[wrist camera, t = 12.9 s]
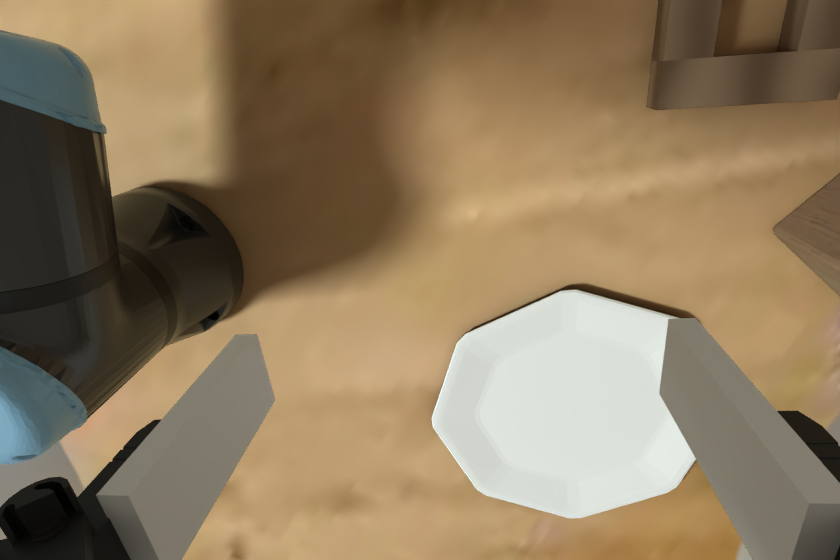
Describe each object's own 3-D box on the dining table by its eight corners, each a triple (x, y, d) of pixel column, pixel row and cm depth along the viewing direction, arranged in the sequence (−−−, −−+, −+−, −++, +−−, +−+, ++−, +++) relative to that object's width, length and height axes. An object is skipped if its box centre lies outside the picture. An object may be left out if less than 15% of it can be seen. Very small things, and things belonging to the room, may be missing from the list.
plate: (392, 359, 50) (390, 368, 49) (652, 242, 42) (658, 248, 41) (510, 528, 59) (511, 539, 57) (747, 457, 50) (754, 468, 49)
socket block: (646, 107, 37) (657, 109, 35) (668, -80, 33) (682, -90, 30) (814, 97, 36) (836, 99, 34) (863, -100, 31) (893, -113, 29)
